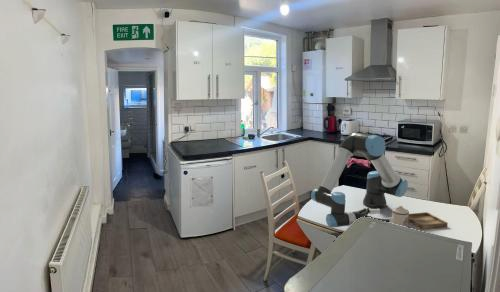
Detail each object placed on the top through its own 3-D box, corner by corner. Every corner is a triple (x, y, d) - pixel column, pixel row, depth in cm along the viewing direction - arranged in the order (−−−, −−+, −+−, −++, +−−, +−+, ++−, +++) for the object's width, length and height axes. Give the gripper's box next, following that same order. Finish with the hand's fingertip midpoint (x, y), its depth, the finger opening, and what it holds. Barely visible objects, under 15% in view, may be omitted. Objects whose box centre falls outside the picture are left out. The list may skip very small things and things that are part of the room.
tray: (402, 218, 217) (403, 214, 216) (426, 215, 220) (427, 212, 220) (421, 229, 201) (422, 225, 200) (447, 226, 204) (447, 222, 204)
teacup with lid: (406, 229, 201) (408, 210, 198) (389, 226, 205) (391, 207, 203) (409, 222, 211) (411, 204, 208) (393, 219, 215) (395, 201, 213)
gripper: (342, 216, 213) (373, 213, 217) (364, 234, 189) (399, 230, 193) (342, 204, 211) (374, 201, 216) (365, 220, 187) (400, 217, 192)
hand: (386, 215), depth 205 cm, fingers open, 13 cm apart
